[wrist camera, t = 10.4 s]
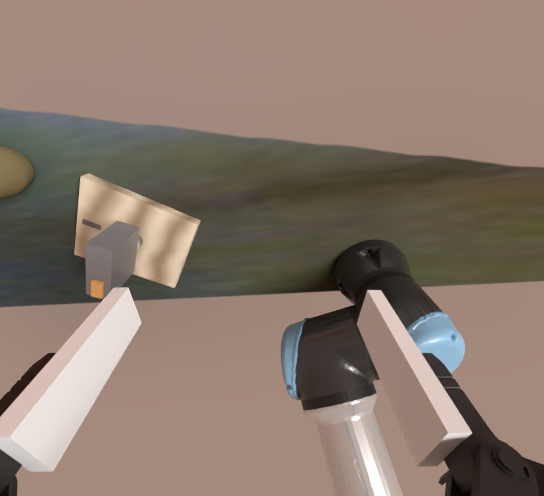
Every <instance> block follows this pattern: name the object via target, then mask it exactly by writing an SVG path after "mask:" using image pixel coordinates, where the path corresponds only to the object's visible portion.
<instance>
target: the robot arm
mask: <svg viewBox="0 0 544 496" xmlns="http://www.w3.org/2000/svg"><path fill="white" fill-rule="evenodd" d="M334 278H335V281H336V284H337V286H338V288H339V290H340V291H341V293H342V294H343V295H344V296H345V297H347V298H348V299H349V300H350V301H351V302H352V303H353V304H354V305H353V306H350V307H346V308H343V309H340V310H336V311H333V312H330V313H326V314H323V315H320V316H316V317H313V318H310V319H309V318H305V319H304V320H303V321H301V322H298V323H295V324H292V325H290V326H288V327H287V328H286V330H285V331H284V333H283V338H282V342H281V364H282V371H283V377H284V381H285V384H286V385H287V391H288V393H289V395H290V396H291V397H292V398H293V399H296V400H300V399H301V401H302V406H303V410H304V413H305V414H306V415H308V416H309V417H310V418H312V419H313V420H314V421H315V422H316V424H317V426H318V430H319V435H320V438H321V443H322V447H323V451H324V455H325V459H326V463H327V467H328V471H329V475H330V479H331V483H332V487H333V491H334V495H335V496H403V494H402V491H401V488H400V485H399V483H398V480H397V477H396V474H395V472H394V469H393V466H392V464H391V461H390V458H389V455H388V453H387V450H386V447H385V444H384V441H383V439H382V436H381V433H380V431H379V428H378V425H377V422H376V419H375V416H374V414H373V406H374V403H375V401H376V398H377V392H376V390H375V387H374V384H373V381H375V380H379V379H380V380H381V383H382V385H383V387H384V389H385V392H386V394H387V396H388V399H389V401H390V404H391V406H392V409H393V411H394V413H395V415H396V418H397V420H398V422H399V425H400V427H401V430H402V432H403V434H404V437H405V439H406V441H407V444H408V446H409V449H410V451H411V453H412V456H413V458H414V460H415V463H416V465H417V466H438V465H439V464H440V463H441V462H442V461H443V460H444V461H445V463H446V464H447V466H448V468H449V471H447V472H446V473H445V474H444V475H443V476H442V477H441V478H440V481H439V483H440V484H441V485H443V484H444V483H446V490H445V496H544V465H543V464H540V463H537V462H534V461H531V460H529V459H526V458H524V457H522V456H521V455H520V454H519V453H518V452H517V451H516V450H515V449H513V448H512V447H510V446H509V445H508V444H507V443H505V442H502V441H500V440H499V439H498V438H497V437H496V436H495V435H494V434H493V433H492V431H491V430H490V429H489V427H488V426H487V425H486V423H485V422H484V420H483V419H482V417H481V416H480V415H479V413H478V412H477V410H476V409H475V408H474V406H473V405H472V403H471V402H470V400H469V399H468V398H467V396H466V395H465V393H464V392H463V391H462V390H461V389H460V386H459V385H458V383H457V382H456V380H455V379H453V377H452V375H451V373H452V372H453V371H454V370H455V369H456V368H457V367H458V365H459V364H460V363H461V361H462V359H463V357H464V352H465V343H464V340H463V338H462V336H461V334H460V333H459V332H458V331H457V329H456V328H455V327H454V325H453V324H452V323H451V321H450V319H449V317H448V316H447V315H446V314H445V313H443V312H442V311H441V309H439V307H438V306H437V305H436V304H435V303H434V302H433V301H432V299H431V298H430V297H429V296H428V295H427V294H426V293H425V292H424V291H423V290H422V288H421V287H420V286H419V285H418V284H417V283H416V282H415V281H414V279H413V278H412V276H411V272H410V269H409V266H408V262H407V259H406V257H405V256H404V254H403V253H402V252H401V251H400V250H399V249H398V248H397V247H396V246H395V245H393V244H392V243H389V242H387V241H382V240H370V241H365V242H362V243H359V244H357V245H355V246H353V247H351V248H350V249H348V250H347V251H346V252H345V253H344V254H343V255H342V256H341V257H340V258H339V260H338V262H337V263H336V266H335V270H334ZM140 325H141V320H140V318H139V315H138V312H137V309H136V307H135V304H134V301H133V299H132V296H131V293H130V291H129V288H113V289H112V290H111V291H110V293H109V294H108V295H107V296H106V297H105V298H104V299H103V301H102V302H101V303H100V304H99V305H98V306H97V307H96V309H95V310H94V311H93V312H92V313H91V314H90V315H89V317H88V318H87V319H86V320H85V321H84V322H83V324H82V325H81V326H80V327H79V328H78V329H77V330H76V331H75V332H74V334H73V335H72V336H71V337H70V338H69V339H68V340H67V342H66V343H65V344H64V345H63V346H62V347H61V348H60V350H59V351H58V352H57V353H48V354H47V355H45V356H44V357H43V358H41V359H40V360H39V361H37V362H36V363H35V364H33V365H32V366H31V367H30V369H29V370H28V371H27V372H26V373H25V374H24V375H23V376H22V377H21V380H19V381H17V383H16V384H15V385H14V386H13V387H12V388H11V390H10V391H9V392H7V393H6V394H5V395H4V396H3V398H2V399H1V400H0V496H17V478H16V476H15V474H16V473H17V471H18V470H19V469H20V467H21V466H23V467H25V468H26V469H27V470H29V471H31V472H49V471H53V470H54V469H55V467H56V465H57V463H58V462H59V460H60V459H61V457H62V455H63V454H64V452H65V450H66V449H67V447H68V445H69V444H70V442H71V440H72V439H73V437H74V435H75V433H76V432H77V430H78V428H79V427H80V425H81V423H82V422H83V420H84V418H85V417H86V415H87V414H88V412H89V410H90V408H91V407H92V405H93V403H94V402H95V400H96V398H97V397H98V395H99V393H100V392H101V390H102V388H103V387H104V385H105V383H106V382H107V380H108V378H109V377H110V375H111V373H112V371H113V370H114V368H115V366H116V365H117V363H118V362H119V360H120V358H121V357H122V355H123V353H124V352H125V350H126V348H127V347H128V345H129V343H130V342H131V340H132V338H133V337H134V335H135V333H136V332H137V330H138V328H139V326H140Z"/></svg>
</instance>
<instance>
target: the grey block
mask: <svg viewBox="0 0 544 496" xmlns="http://www.w3.org/2000/svg"><path fill="white" fill-rule="evenodd" d="M139 228H140V227H136V226H133V225H130V224H127V223H124V222H121V221H116V222H115V223H113V224H112V225H111V226H109V227H108V228H106V229H105V230H104V231H102V232H101V233H99V234H98V235H97V236H95V237H94V238H92V239H91V240H90V241H88V242H87V243H85V254H86V294H88V295H91V296H92V297H96V298H100V299H102V298H105V297H106V296H107V295H108V294H109V293H110V291H111V290H112V289H113V288H121V286H122V285H123V284H124V283H125V282H126V280H127V279H128V278H129V277H130V276H131V274H132V273H133V272H134V270H135V262H136V253H137V245H138V236H139Z"/></svg>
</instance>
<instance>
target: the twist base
mask: <svg viewBox="0 0 544 496" xmlns="http://www.w3.org/2000/svg"><path fill="white" fill-rule="evenodd" d="M116 221H121V222H124V223H127V224H130V225H133V226H136V227H140V228H139V236H138V245H137V253H136V262H135V270H134V272H133V273H132V274H134V275H137V276H140V277H143V278H146V279H149V280H152V281H155V282H158V283H161V284H164V285H167V286H170V287H173V288H175V286H176V284H177V282H178V280H179V277H180V274H181V272H182V269H183V266H184V264H185V261H186V258H187V256H188V253H189V250H190V248H191V245H192V242H193V239H194V237H195V234H196V231H197V229H198V226H199V223H200V221H201V220H198V219H196V218H193V217H191V216H189V215H186V214H184V213H182V212H179V211H177V210H174V209H172V208H170V207H167V206H165V205H162V204H160V203H158V202H155V201H153V200H151V199H148V198H146V197H143V196H141V195H139V194H136V193H134V192H132V191H129V190H127V189H124V188H122V187H120V186H117V185H115V184H112V183H110V182H108V181H105V180H103V179H101V178H98V177H96V176H93V175H91V174H86V175H83V176H81V178H80V190H79V203H78V215H77V227H76V240H75V252H74V254H75V255H78V256H81V257H84V258H86V254H85V243H87V242H88V241H90V240H91V239H92V238H94V237H95V236H97V235H98V234H99V233H101V232H102V231H104V230H105V229H106V228H108V227H109V226H111V225H112V224H113V223H115V222H116Z"/></svg>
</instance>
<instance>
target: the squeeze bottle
mask: <svg viewBox="0 0 544 496" xmlns="http://www.w3.org/2000/svg"><path fill="white" fill-rule="evenodd" d="M34 174H35V171H34V169H33V166H32V164H31V163H30V161H29V160H28V159H27V158H26V157H25V156H24V155H23V154H21V153H20V152H19V151H17V150H14V149H12V148H9V147H4V146H0V198H2V197H6V196H11V195H14V194H17V193H19V192H21V191H22V190H23V189H24V188H25V187H26V186H27V185H28V184H29V183H30V182H31V181H32V180H33V178H34Z"/></svg>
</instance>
